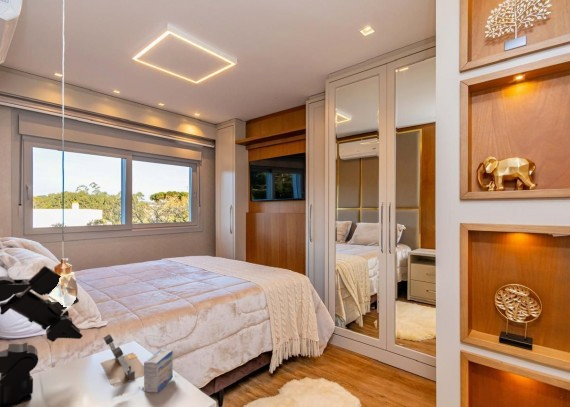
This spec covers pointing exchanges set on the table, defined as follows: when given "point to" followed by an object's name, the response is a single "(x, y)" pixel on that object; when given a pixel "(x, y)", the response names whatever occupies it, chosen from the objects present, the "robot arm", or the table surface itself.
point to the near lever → (121, 359)
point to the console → (117, 372)
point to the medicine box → (158, 371)
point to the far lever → (110, 343)
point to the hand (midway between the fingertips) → (80, 334)
